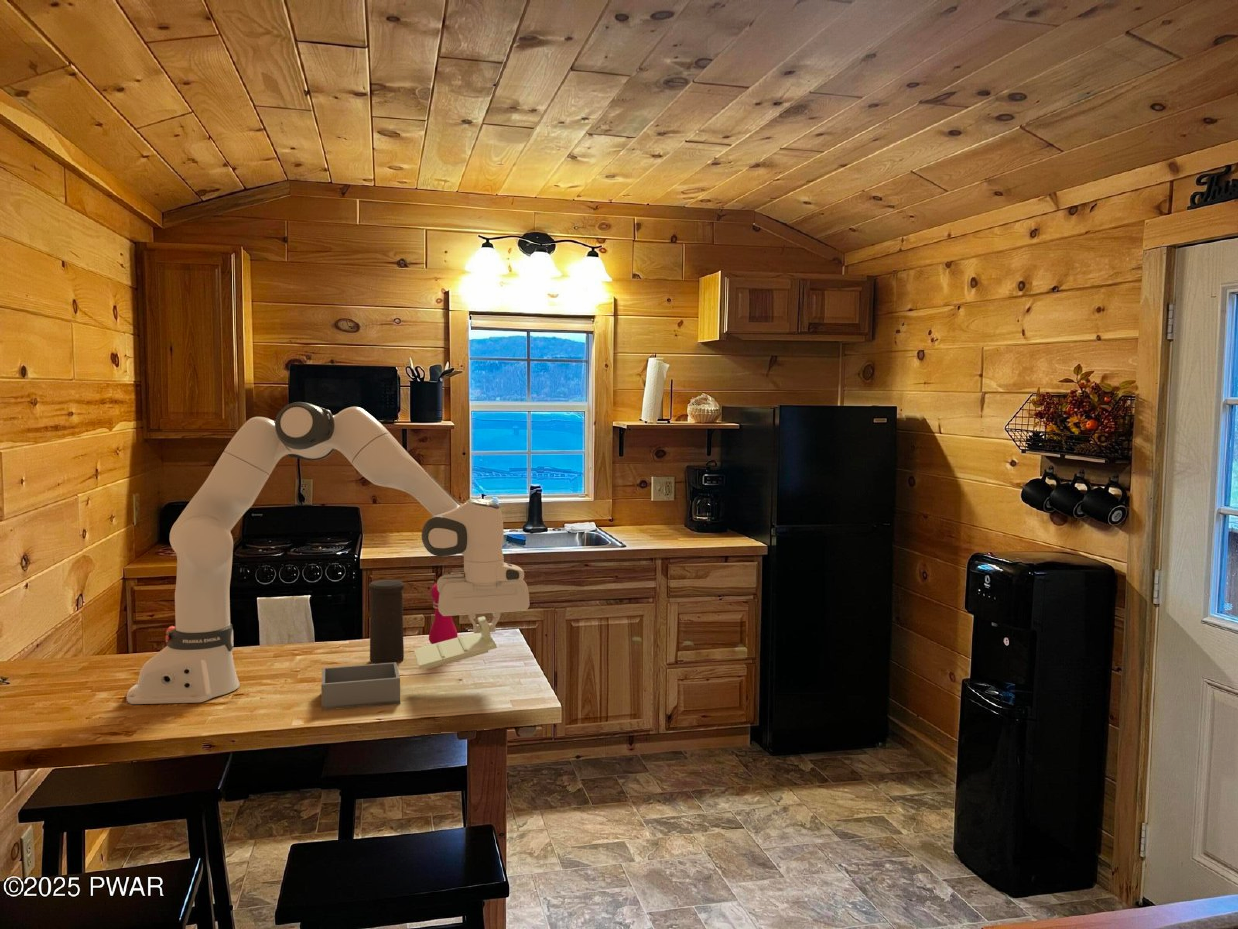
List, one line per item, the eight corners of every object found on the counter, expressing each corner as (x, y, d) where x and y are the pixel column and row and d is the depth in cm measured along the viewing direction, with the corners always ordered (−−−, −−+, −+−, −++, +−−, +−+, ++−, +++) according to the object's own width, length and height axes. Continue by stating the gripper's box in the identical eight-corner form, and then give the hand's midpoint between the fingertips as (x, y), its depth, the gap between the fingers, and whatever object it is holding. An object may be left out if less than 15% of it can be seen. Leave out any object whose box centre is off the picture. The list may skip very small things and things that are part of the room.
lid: (420, 673, 198) (414, 646, 197) (415, 656, 210) (409, 630, 210) (497, 652, 203) (492, 625, 202) (488, 637, 215) (482, 611, 214)
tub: (321, 710, 193) (321, 684, 193) (322, 692, 204) (322, 668, 204) (400, 703, 198) (400, 678, 197) (396, 686, 209) (396, 662, 209)
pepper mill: (435, 659, 230) (434, 580, 228) (424, 652, 236) (424, 575, 234) (462, 655, 234) (461, 577, 232) (451, 648, 240) (451, 572, 238)
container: (410, 655, 233) (409, 577, 231) (398, 666, 224) (397, 585, 222) (376, 654, 234) (375, 576, 232) (363, 665, 225) (362, 584, 223)
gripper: (438, 576, 201) (439, 639, 202) (531, 571, 207) (531, 632, 208) (435, 571, 207) (436, 632, 208) (525, 566, 213) (525, 625, 214)
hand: (484, 632), depth 208 cm, fingers closed on lid
